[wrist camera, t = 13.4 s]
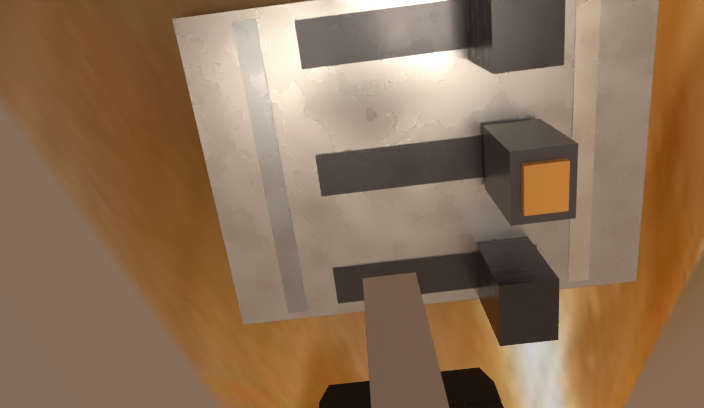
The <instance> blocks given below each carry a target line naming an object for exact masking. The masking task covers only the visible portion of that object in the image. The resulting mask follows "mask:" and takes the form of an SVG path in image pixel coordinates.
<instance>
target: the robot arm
mask: <svg viewBox="0 0 704 408" xmlns="http://www.w3.org/2000/svg"><path fill="white" fill-rule="evenodd" d="M363 291H364V306H365V321H366V337H367V352H368V367H369V381H364V382H354V383H345V384H336V385H329V386H328V388H327V390H326V392H325V393H324V395H323V397H322V399H321V400H320V402H319V408H504V407H503V405H502V403H501V399H500V397H499V394H498V391H497V389H496V386H495V384H494V382H493V381H492V380H491V379H490V378H489V377H488V376H487V375H486V374H485V373H484V372H483V371H482V370H481V369H480V368H470V369H461V370H452V371H443V372H440V368H439V364H438V360H437V356H436V352H435V348H434V344H433V340H432V336H431V332H430V328H429V324H428V320H427V316H426V312H425V308H424V304H423V300H422V296H421V292H420V288H419V284H418V280H417V276H416V272H414V273H405V274H397V275H388V276H379V277H371V278H363Z"/></svg>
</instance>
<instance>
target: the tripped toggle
mask: <svg viewBox="0 0 704 408" xmlns="http://www.w3.org/2000/svg"><path fill="white" fill-rule="evenodd" d="M483 143H484V173H485V190H486V191H487V193H488V194H489V195H490V197H491V198H492V200H493V201H494V203H495V204H496V205H497V207H498V208H499V210H500V211H501V212H502V214H503V215H504V217H505V218H506V220H507V221H508V222H509V224H510V225H511V226H514V225H523V224H531V223H540V222H548V221H557V220H566V219H574V218H576V198H577V168H578V143H577V142H575V141H574V140H572V139H571V138H569V137H568V136H566V135H564V134H563V133H561V132H560V131H558V130H557V129H555V128H554V127H552V126H551V125H549V124H548V123H546V122H545V121H543V120H542V119H532V120H524V121H516V122H508V123H500V124H491V125H483Z"/></svg>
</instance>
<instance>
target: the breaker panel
mask: <svg viewBox="0 0 704 408" xmlns="http://www.w3.org/2000/svg"><path fill="white" fill-rule="evenodd" d="M658 6H659V0H310V1H303V2H295V3H288V4H280V5H273V6H265V7H257V8H250V9H242V10H235V11H227V12H220V13H212V14H204V15H197V16H189V17H182V18H176V19H172V21H173V25H174V29H175V34H176V38H177V42H178V46H179V51H180V55H181V59H182V64H183V68H184V72H185V76H186V81H187V85H188V89H189V94H190V98H191V102H192V106H193V111H194V115H195V119H196V124H197V128H198V132H199V136H200V141H201V145H202V149H203V154H204V158H205V162H206V166H207V171H208V175H209V179H210V184H211V188H212V192H213V196H214V201H215V205H216V209H217V214H218V218H219V222H220V226H221V231H222V235H223V239H224V244H225V248H226V252H227V256H228V261H229V265H230V269H231V274H232V278H233V282H234V286H235V291H236V295H237V299H238V304H239V308H240V312H241V317H242V321H243V325H244V324H253V323H262V322H271V321H280V320H289V319H298V318H307V317H316V316H325V315H334V314H343V313H352V312H361V311H365V306H364V291H363V278H371V277H379V276H388V275H397V274H405V273H414V272H416V276H417V280H418V284H419V288H420V292H421V296H422V300H423V304H432V303H441V302H450V301H459V300H468V299H477V298H479V299H480V301H481V303H482V306H483V308H484V310H485V312H486V315H487V317H488V319H489V322H490V324H491V326H492V328H493V331H494V333H495V335H496V338H497V340H498V342H499V345H500V346H505V345H514V344H524V343H533V342H542V341H551V340H558V322H559V289H567V288H576V287H585V286H594V285H603V284H612V283H621V282H630V281H636V276H637V263H638V251H639V239H640V227H641V214H642V202H643V190H644V178H645V165H646V153H647V141H648V129H649V116H650V104H651V92H652V80H653V67H654V55H655V43H656V31H657V18H658ZM532 119H542V120H543V121H545V122H546V123H548V124H549V125H551V126H552V127H554V128H555V129H557V130H558V131H560V132H561V133H563V134H564V135H566V136H568V137H569V138H571V139H572V140H574V141H575V142H577V143H578V168H577V198H576V218H574V219H566V220H557V221H548V222H540V223H531V224H523V225H514V226H511V225H510V224H509V222H508V221H507V220H506V218H505V217H504V215H503V214H502V212H501V211H500V210H499V208H498V207H497V205H496V204H495V203H494V201H493V200H492V198H491V197H490V195H489V194H488V193H487V191H486V190H485V173H484V143H483V125H491V124H500V123H508V122H516V121H524V120H532Z"/></svg>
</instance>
